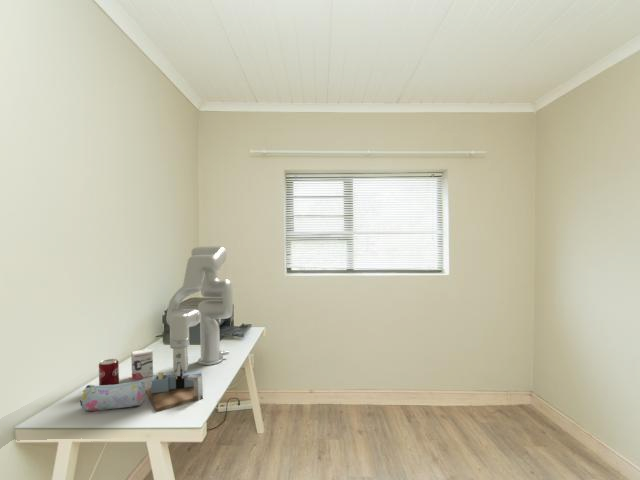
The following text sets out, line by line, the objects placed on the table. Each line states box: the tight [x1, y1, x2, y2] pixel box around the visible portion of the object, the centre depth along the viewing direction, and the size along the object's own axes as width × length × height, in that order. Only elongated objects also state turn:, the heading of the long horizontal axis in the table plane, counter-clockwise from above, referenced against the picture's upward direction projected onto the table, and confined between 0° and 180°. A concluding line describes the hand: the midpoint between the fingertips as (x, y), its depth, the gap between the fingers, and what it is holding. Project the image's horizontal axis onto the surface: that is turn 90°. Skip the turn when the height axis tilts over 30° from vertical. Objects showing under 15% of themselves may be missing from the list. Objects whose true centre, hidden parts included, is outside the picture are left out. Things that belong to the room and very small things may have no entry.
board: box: [145, 386, 204, 413], centre depth 144 cm, size 17×22×1 cm
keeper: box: [187, 374, 204, 402], centre depth 141 cm, size 6×3×9 cm, turn 71°
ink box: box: [130, 348, 154, 381], centre depth 165 cm, size 8×5×12 cm, turn 123°
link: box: [150, 370, 203, 393], centre depth 148 cm, size 19×6×5 cm, turn 106°
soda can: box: [98, 358, 120, 386], centre depth 151 cm, size 7×7×12 cm
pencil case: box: [79, 380, 146, 412], centre depth 135 cm, size 21×9×10 cm, turn 97°
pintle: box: [157, 372, 165, 379], centre depth 146 cm, size 2×2×8 cm
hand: (180, 385), depth 148 cm, fingers closed on link, 3 cm apart
